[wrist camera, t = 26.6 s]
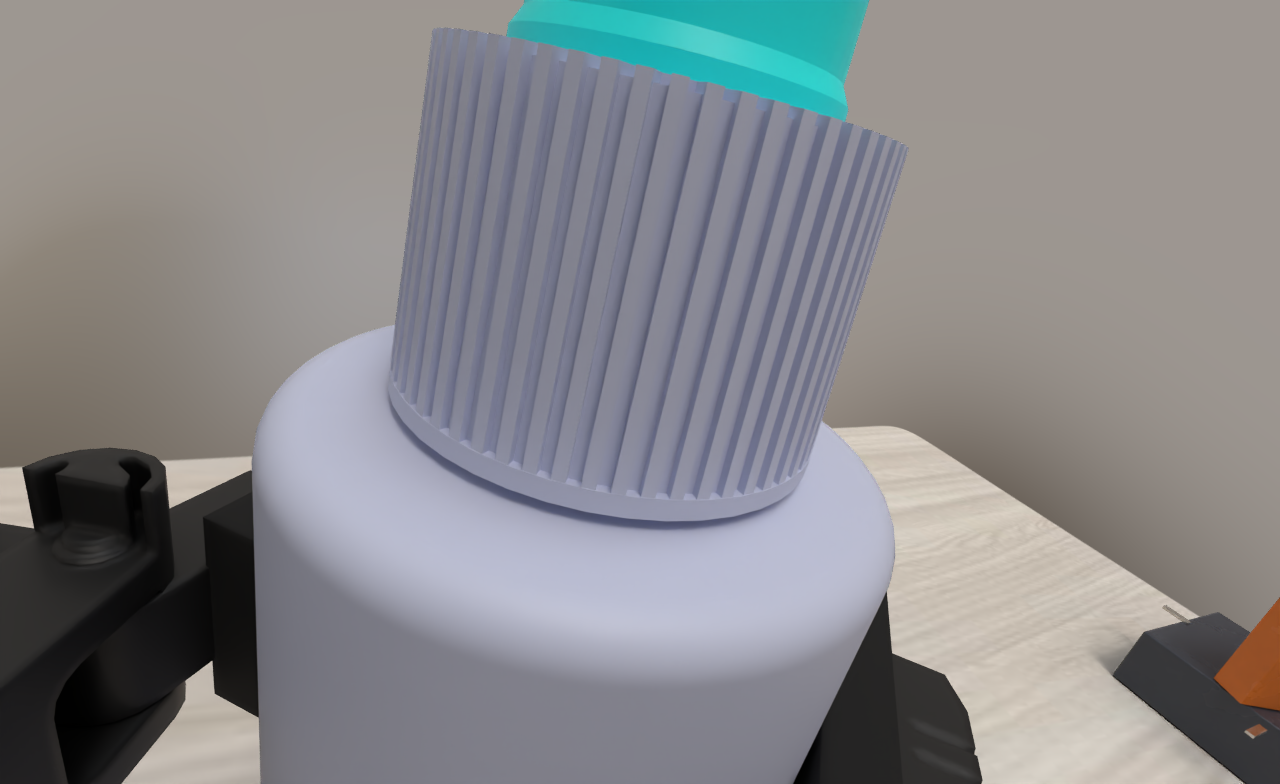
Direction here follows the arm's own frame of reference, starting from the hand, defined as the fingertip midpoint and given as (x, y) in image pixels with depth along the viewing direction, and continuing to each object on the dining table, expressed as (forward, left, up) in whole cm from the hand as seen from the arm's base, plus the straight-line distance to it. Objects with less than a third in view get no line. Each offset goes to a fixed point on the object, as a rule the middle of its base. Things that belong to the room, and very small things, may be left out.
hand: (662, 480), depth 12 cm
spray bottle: (-5, -1, -12) cm, 13 cm away
